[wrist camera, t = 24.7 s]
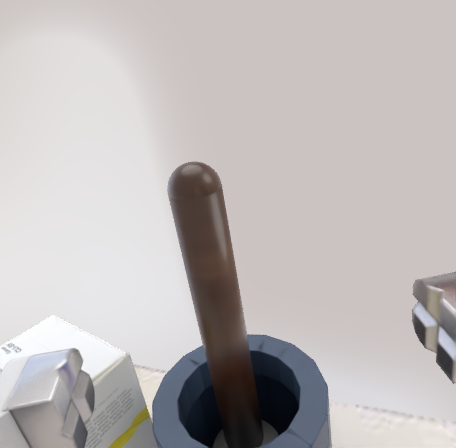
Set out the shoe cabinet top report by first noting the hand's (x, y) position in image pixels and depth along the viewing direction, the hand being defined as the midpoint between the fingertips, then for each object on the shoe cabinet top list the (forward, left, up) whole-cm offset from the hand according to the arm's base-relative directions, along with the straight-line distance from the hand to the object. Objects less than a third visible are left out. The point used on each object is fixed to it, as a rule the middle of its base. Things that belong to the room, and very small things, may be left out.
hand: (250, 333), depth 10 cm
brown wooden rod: (+3, -7, -20) cm, 21 cm away
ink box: (+14, -8, -21) cm, 26 cm away
